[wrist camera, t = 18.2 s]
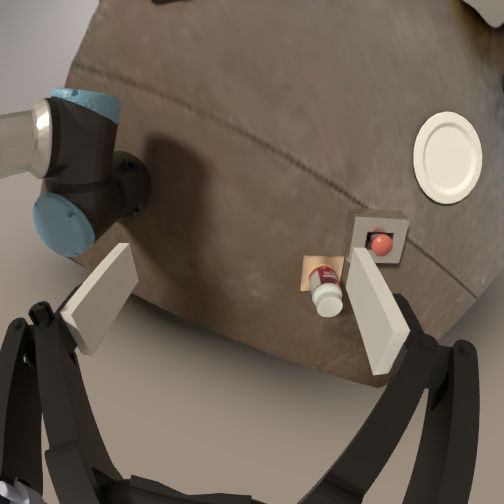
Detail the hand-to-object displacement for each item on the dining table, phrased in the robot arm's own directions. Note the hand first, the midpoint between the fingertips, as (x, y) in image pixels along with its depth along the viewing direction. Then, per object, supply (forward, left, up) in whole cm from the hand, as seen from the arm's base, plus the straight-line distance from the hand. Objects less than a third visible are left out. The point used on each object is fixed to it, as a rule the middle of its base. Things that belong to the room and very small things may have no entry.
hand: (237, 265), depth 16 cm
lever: (+24, -15, -38) cm, 47 cm away
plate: (+41, +4, -39) cm, 57 cm away
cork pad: (+14, -26, -39) cm, 49 cm away
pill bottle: (+14, -26, -38) cm, 48 cm away
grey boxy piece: (+24, -15, -39) cm, 48 cm away
